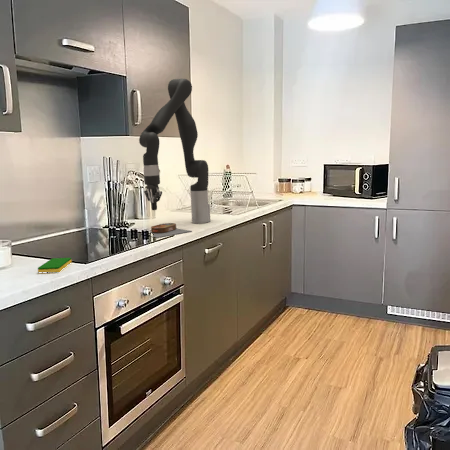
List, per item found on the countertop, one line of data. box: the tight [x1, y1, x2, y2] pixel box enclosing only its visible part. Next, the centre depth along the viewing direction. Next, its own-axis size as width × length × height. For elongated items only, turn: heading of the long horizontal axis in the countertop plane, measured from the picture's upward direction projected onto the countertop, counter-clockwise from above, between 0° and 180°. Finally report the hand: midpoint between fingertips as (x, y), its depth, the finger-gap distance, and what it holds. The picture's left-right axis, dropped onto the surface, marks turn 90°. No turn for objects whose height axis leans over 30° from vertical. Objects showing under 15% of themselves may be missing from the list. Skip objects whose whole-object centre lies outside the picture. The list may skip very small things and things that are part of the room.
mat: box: [150, 227, 192, 239], centre depth 224 cm, size 20×14×1 cm
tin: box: [150, 222, 177, 233], centre depth 228 cm, size 15×3×8 cm
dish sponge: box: [37, 257, 73, 273], centre depth 163 cm, size 7×14×2 cm, turn 1°
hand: (154, 209), depth 229 cm, fingers closed
